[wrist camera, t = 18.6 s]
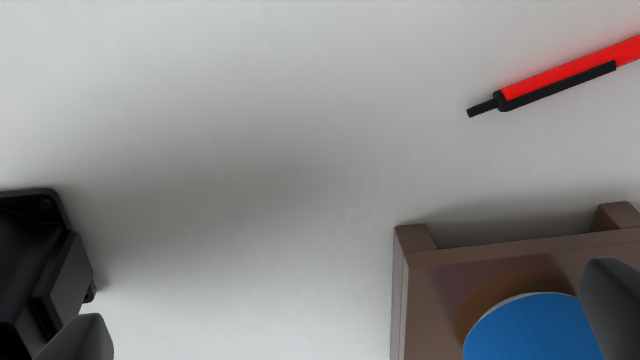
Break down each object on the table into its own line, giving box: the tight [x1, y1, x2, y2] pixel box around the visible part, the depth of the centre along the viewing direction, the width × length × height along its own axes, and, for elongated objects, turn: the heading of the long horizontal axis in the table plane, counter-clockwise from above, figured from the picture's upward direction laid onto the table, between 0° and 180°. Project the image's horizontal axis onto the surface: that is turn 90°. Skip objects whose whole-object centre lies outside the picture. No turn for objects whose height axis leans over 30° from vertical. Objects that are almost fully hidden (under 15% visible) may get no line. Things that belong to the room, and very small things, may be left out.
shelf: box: [390, 202, 640, 360], centre depth 28 cm, size 12×10×3 cm
